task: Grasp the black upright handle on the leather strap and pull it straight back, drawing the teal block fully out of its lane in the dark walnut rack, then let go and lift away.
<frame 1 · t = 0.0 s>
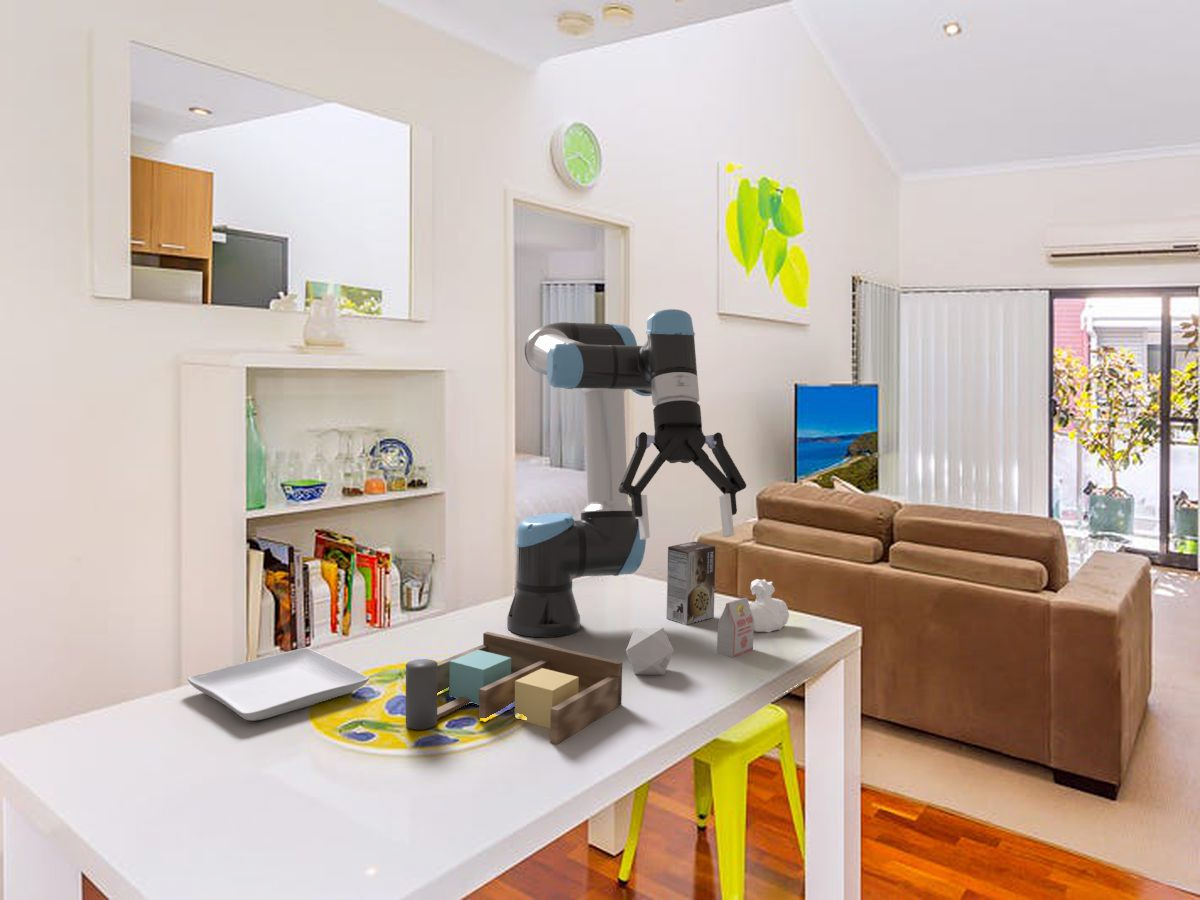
hand: (687, 537, 131), 28 cm above the table, tool tilted 20°, fingers open, 13 cm apart
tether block: (454, 679, 133), point 5 cm above the table, slide at 0.0 cm
food box: (689, 619, 187), on the table
bust: (764, 628, 181), on the table
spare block: (546, 716, 132), resting in lane rack
lane rack: (518, 703, 136), on the table
salad plate: (279, 697, 138), on the table
white gable top carton: (734, 652, 165), on the table
die: (648, 673, 152), on the table
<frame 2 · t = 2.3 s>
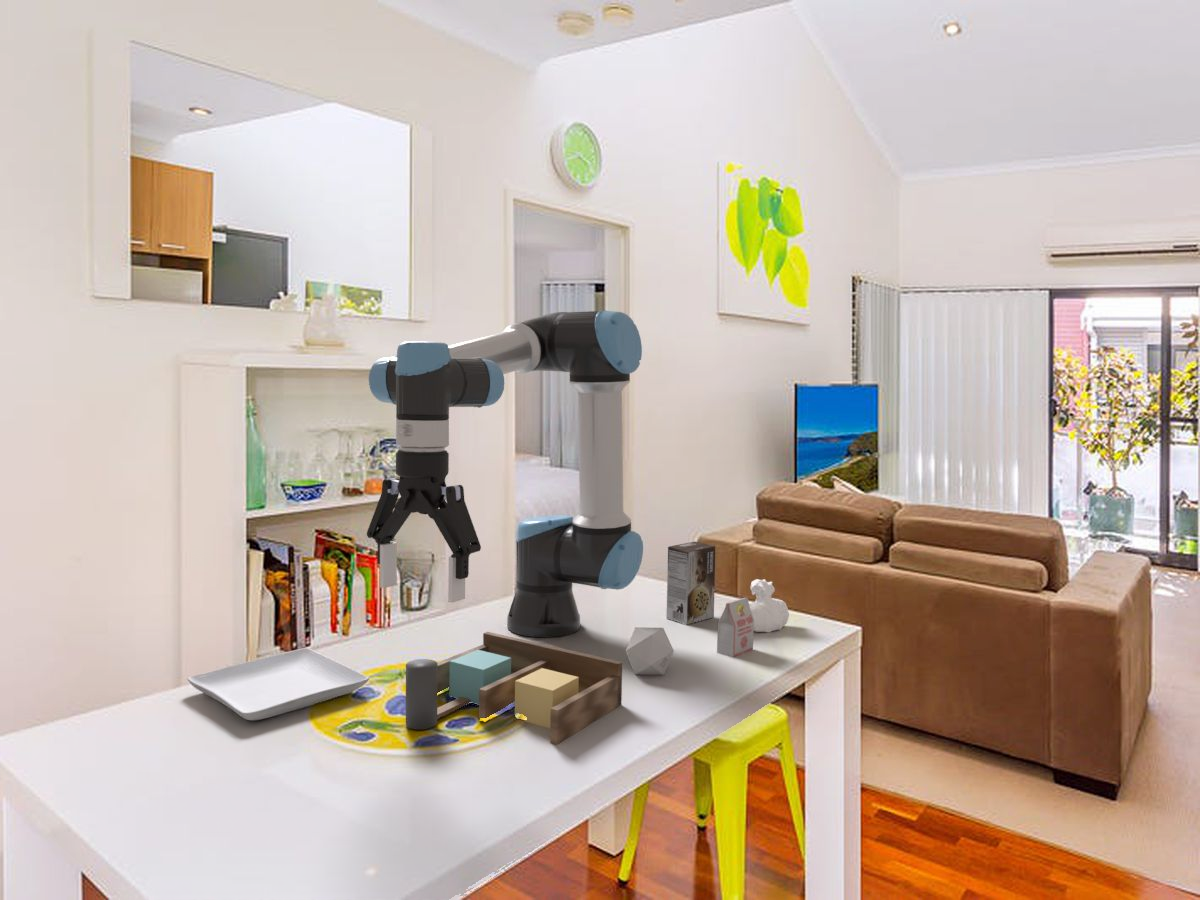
hand: (421, 593, 125), 20 cm above the table, tool pointing down, fingers open, 13 cm apart
nothing on the table moved.
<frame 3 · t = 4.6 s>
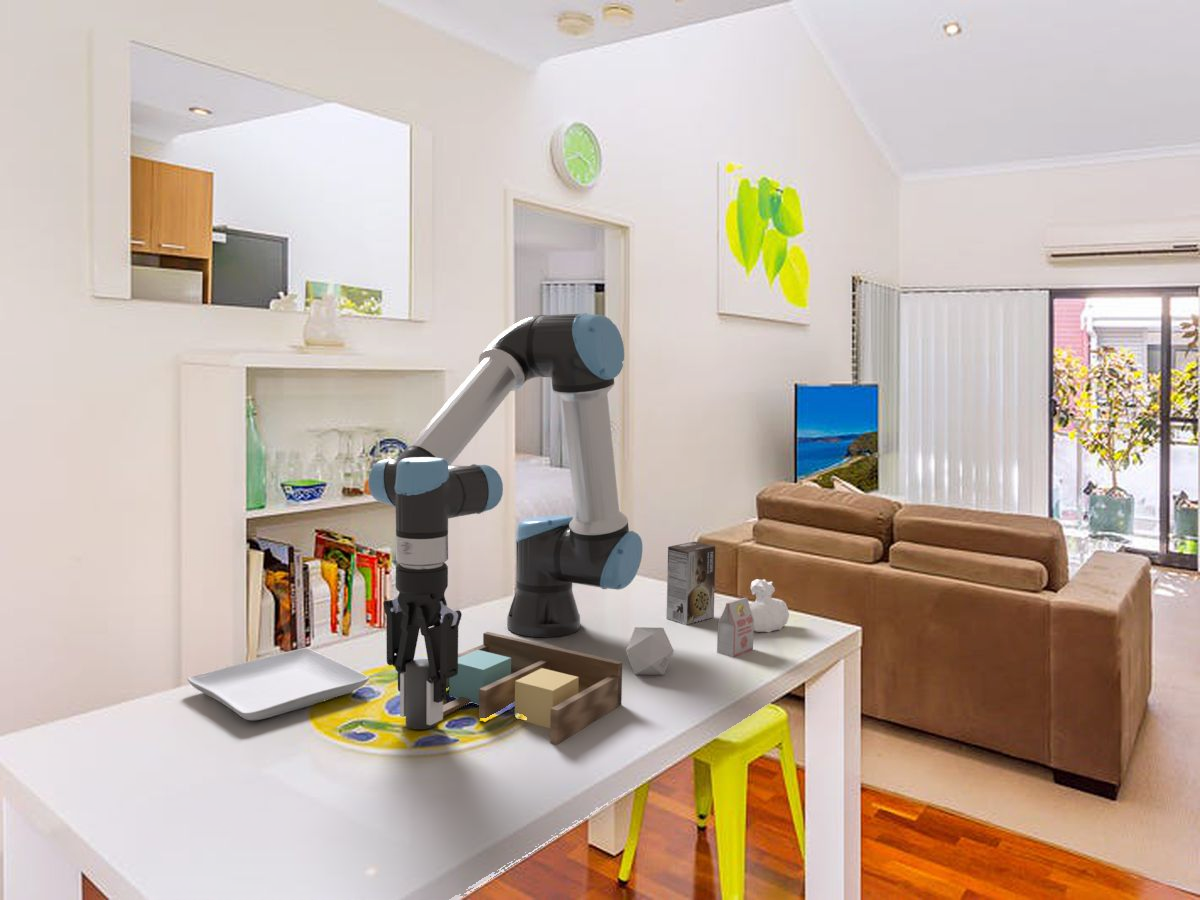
hand: (421, 717, 127), 1 cm above the table, tool pointing down, fingers closed on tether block, 5 cm apart
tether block: (454, 679, 133), point 5 cm above the table, slide at 0.0 cm, touching gripper
everything else where it was.
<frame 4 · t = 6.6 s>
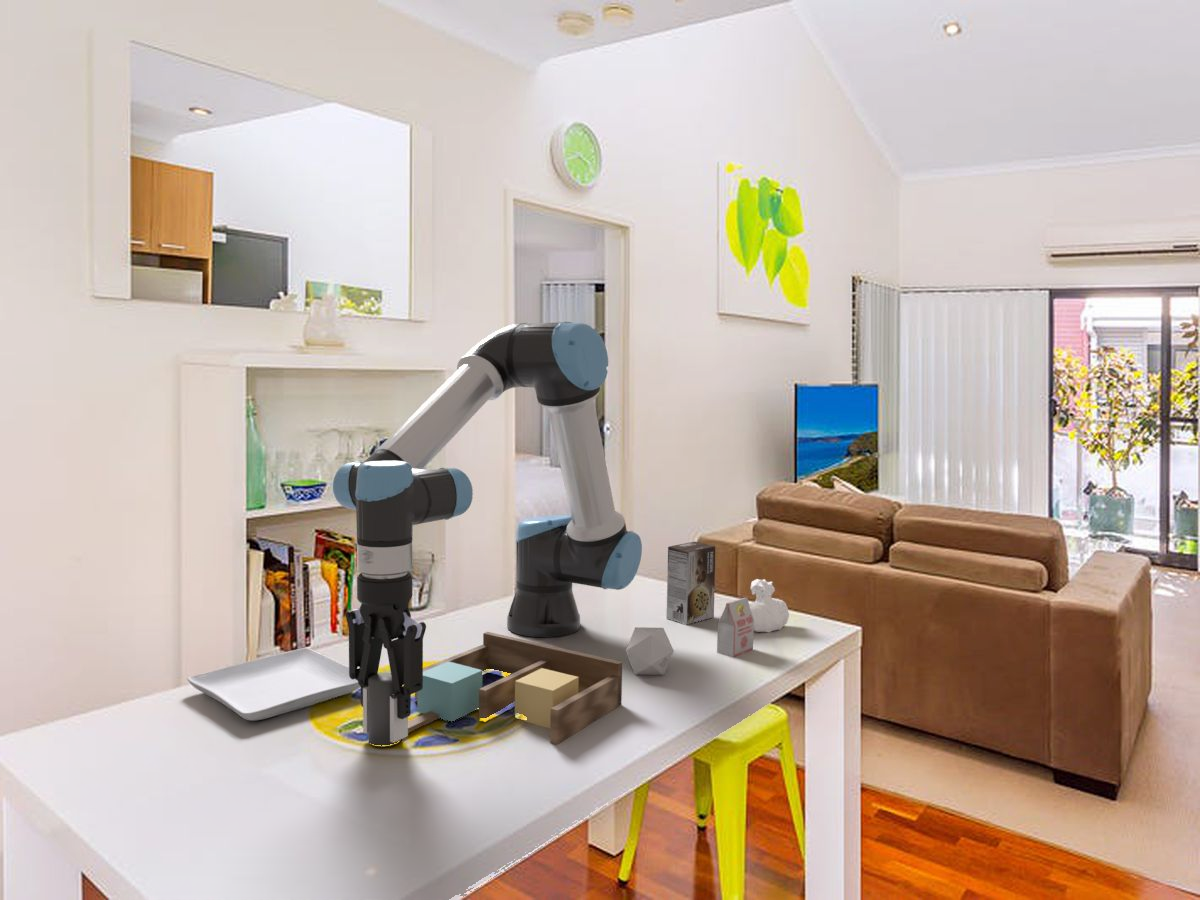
hand: (385, 733, 121), 1 cm above the table, tool pointing down, fingers closed on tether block, 5 cm apart
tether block: (422, 693, 127), point 5 cm above the table, slide at 7.2 cm, touching gripper
everything else where it was.
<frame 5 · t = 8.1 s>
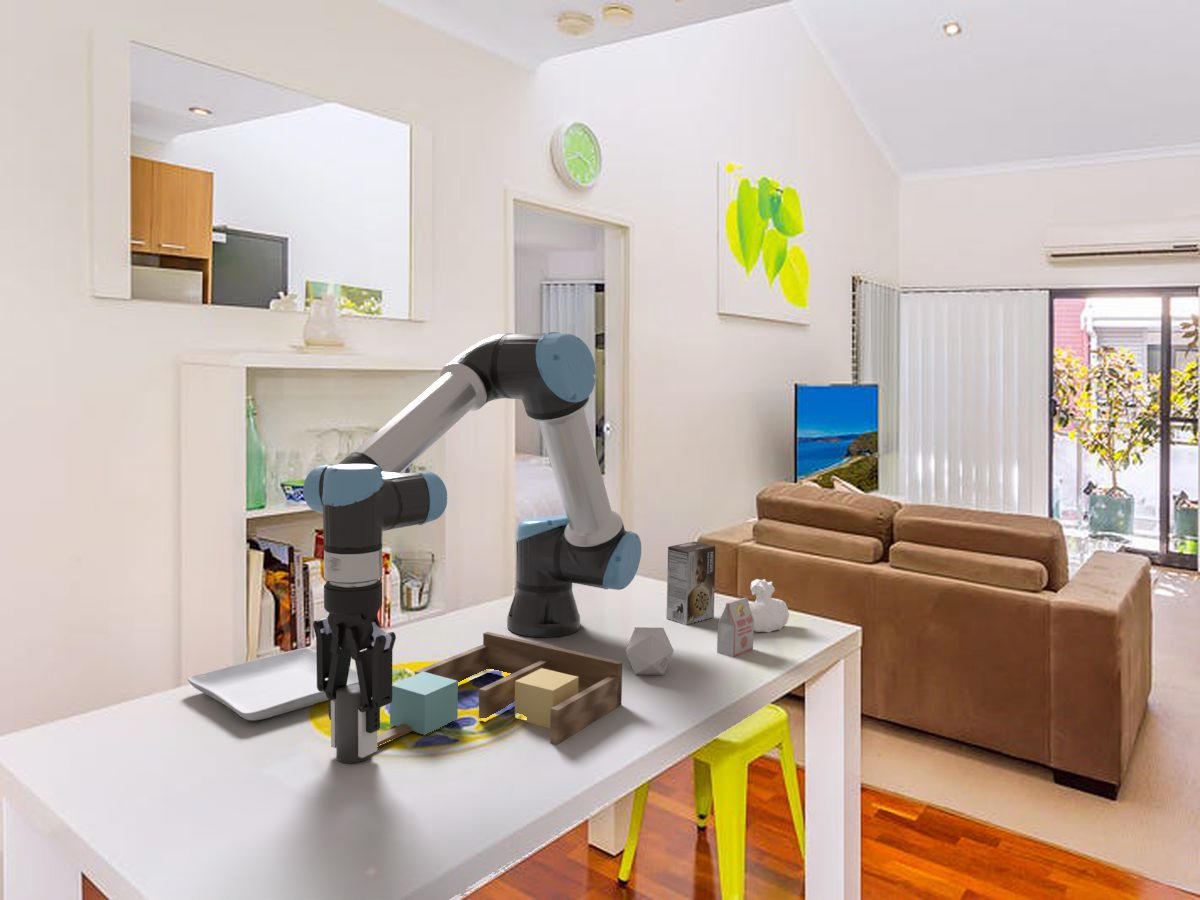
hand: (354, 748, 116), 1 cm above the table, tool pointing down, fingers closed on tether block, 5 cm apart
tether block: (393, 705, 122), point 5 cm above the table, slide at 13.0 cm, touching gripper
everything else where it was.
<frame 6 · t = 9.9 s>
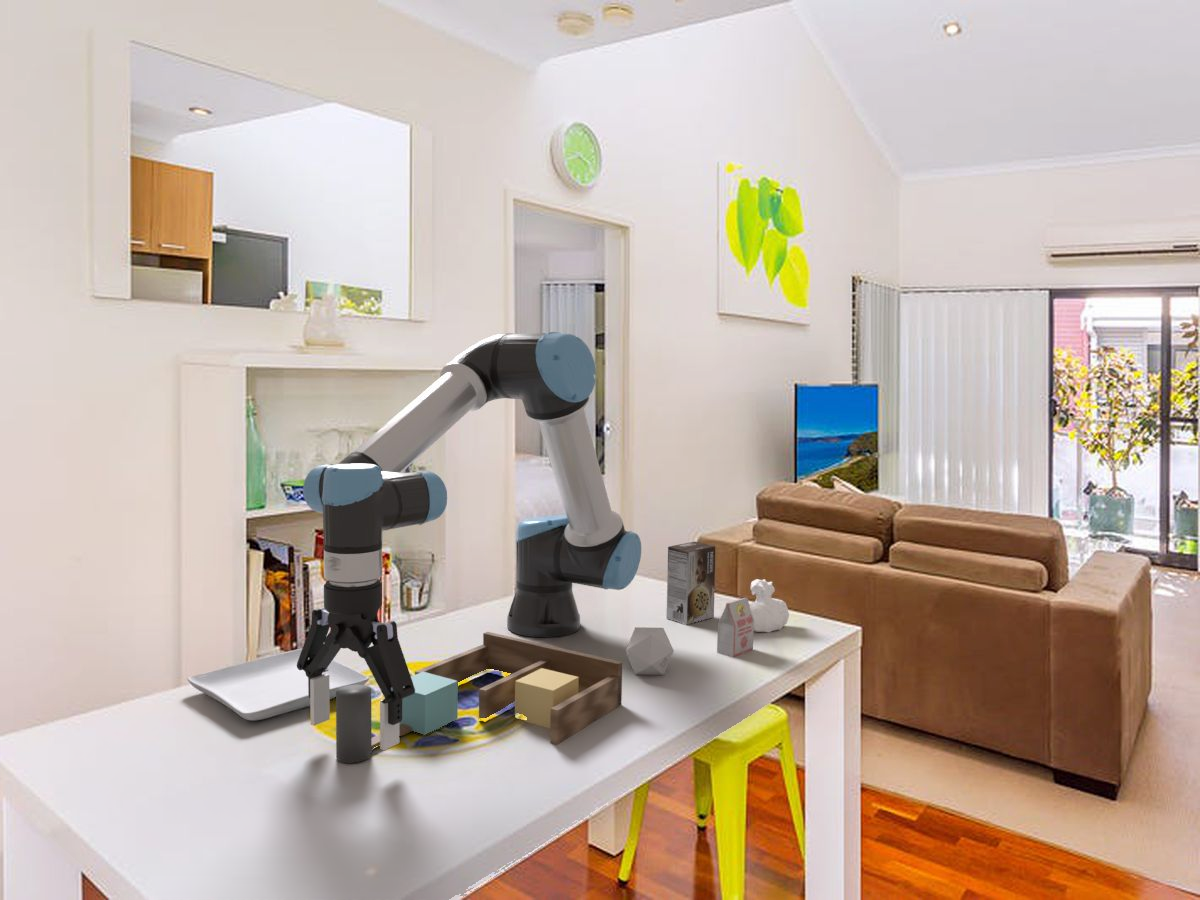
hand: (354, 733, 116), 3 cm above the table, tool pointing down, fingers open, 13 cm apart
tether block: (393, 705, 122), point 5 cm above the table, slide at 13.0 cm
everything else where it was.
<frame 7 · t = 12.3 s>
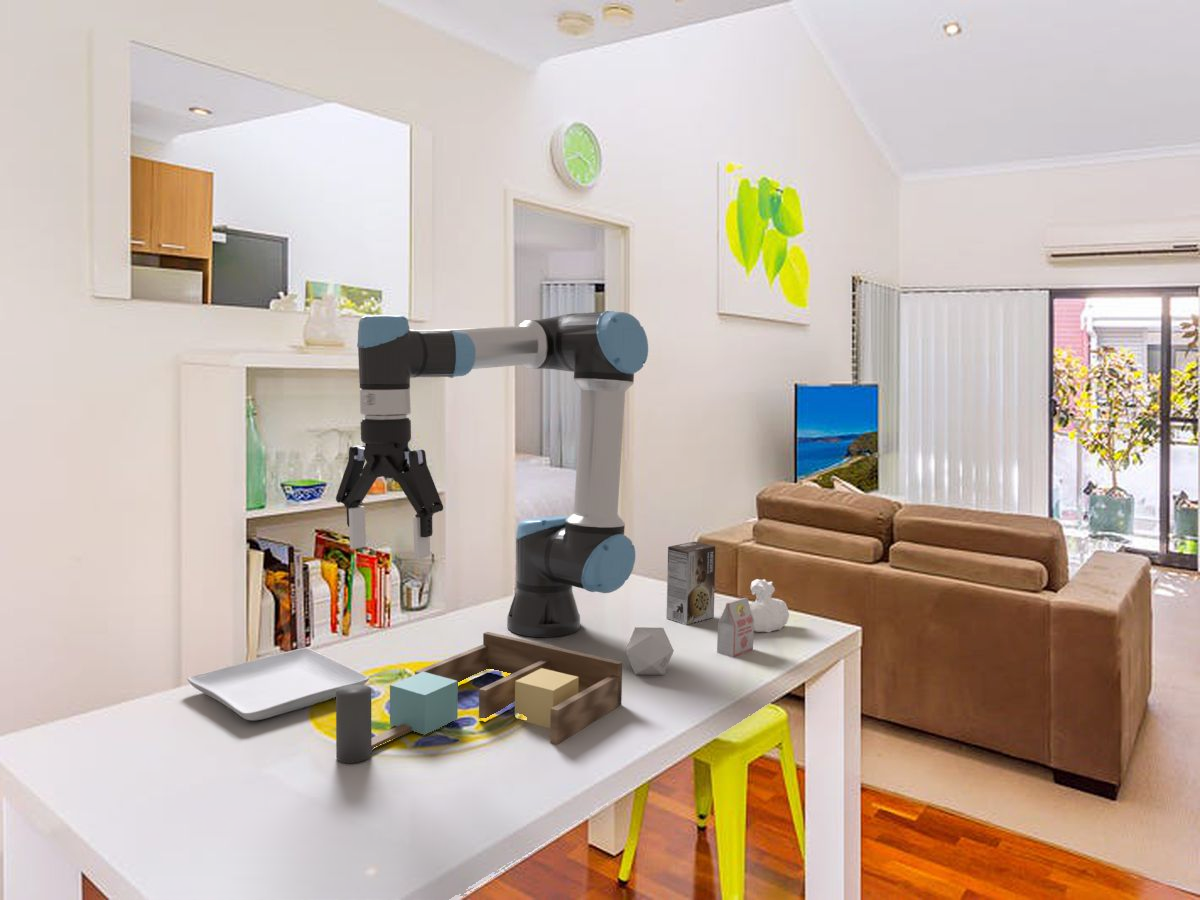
hand: (389, 552, 133), 24 cm above the table, tool pointing down, fingers open, 13 cm apart
nothing on the table moved.
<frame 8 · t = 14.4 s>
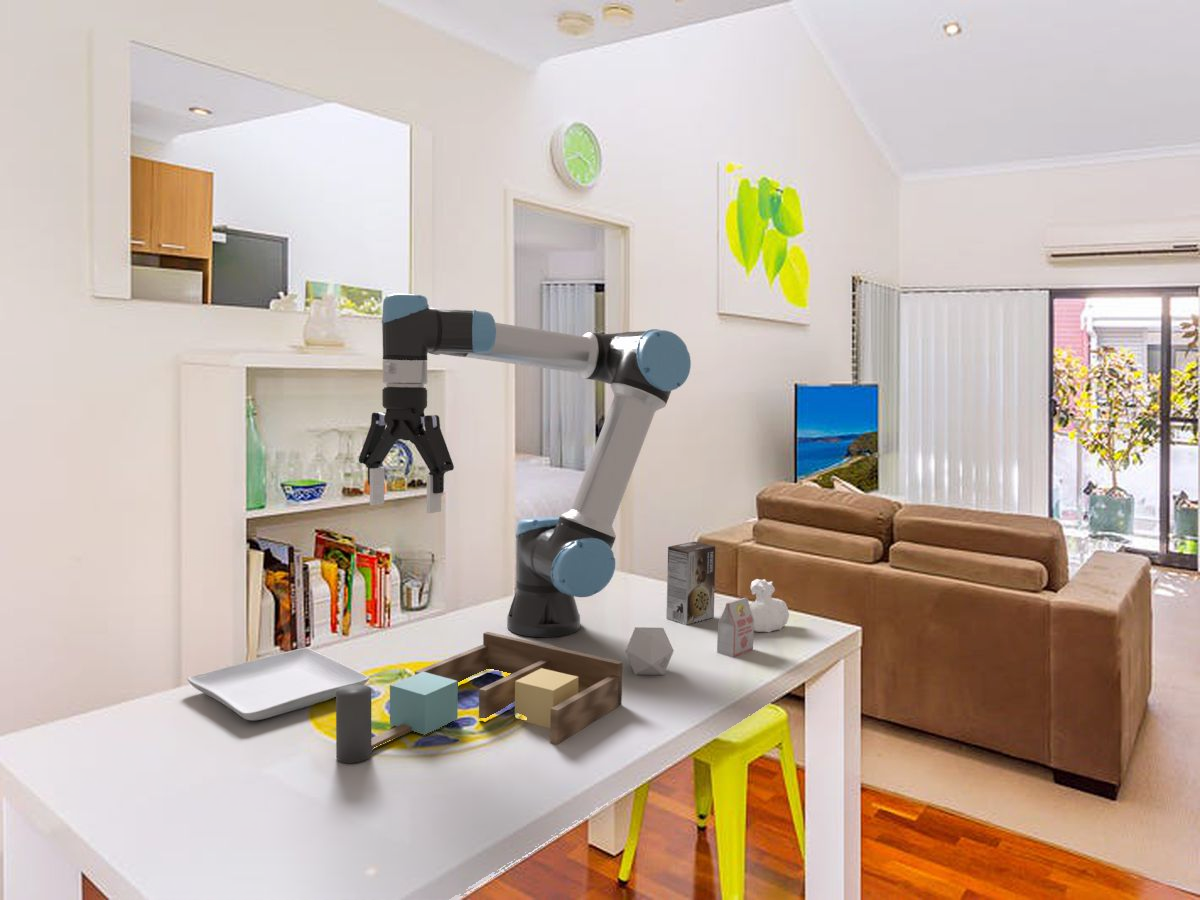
hand: (404, 508, 148), 29 cm above the table, tool pointing down, fingers open, 13 cm apart
nothing on the table moved.
at the end: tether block slide at 13.0 cm; the gripper is holding nothing; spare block moved 0.2 cm from its start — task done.
